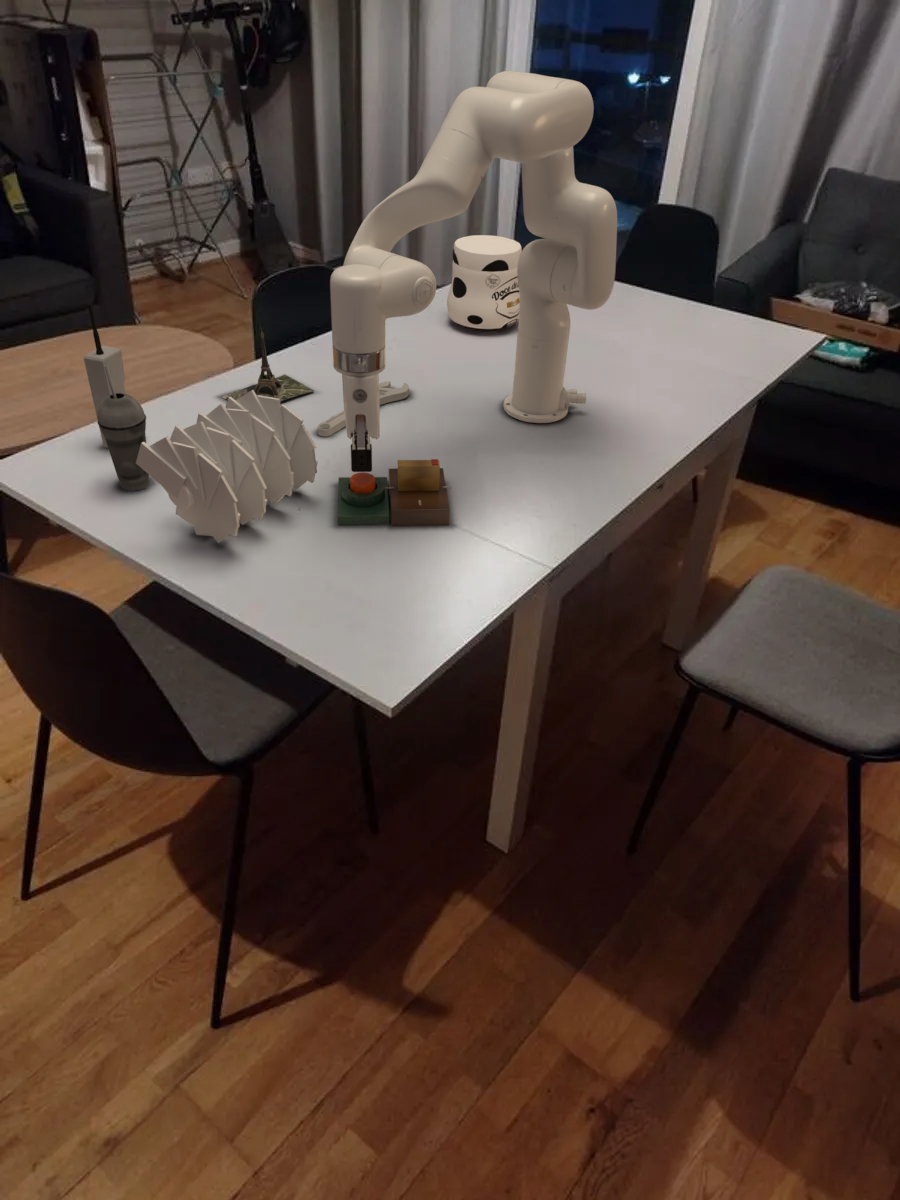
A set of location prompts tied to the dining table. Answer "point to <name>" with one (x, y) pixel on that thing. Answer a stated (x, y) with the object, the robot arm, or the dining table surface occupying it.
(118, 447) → the beverage cup
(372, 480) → the button
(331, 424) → the adjustable wrench
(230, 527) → the spiral staircase
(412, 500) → the control panel
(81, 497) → the dining table surface
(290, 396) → the eiffel tower figurine
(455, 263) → the milk container
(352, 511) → the button housing
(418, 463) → the yellow box red tab
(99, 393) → the vintage mobile phone
